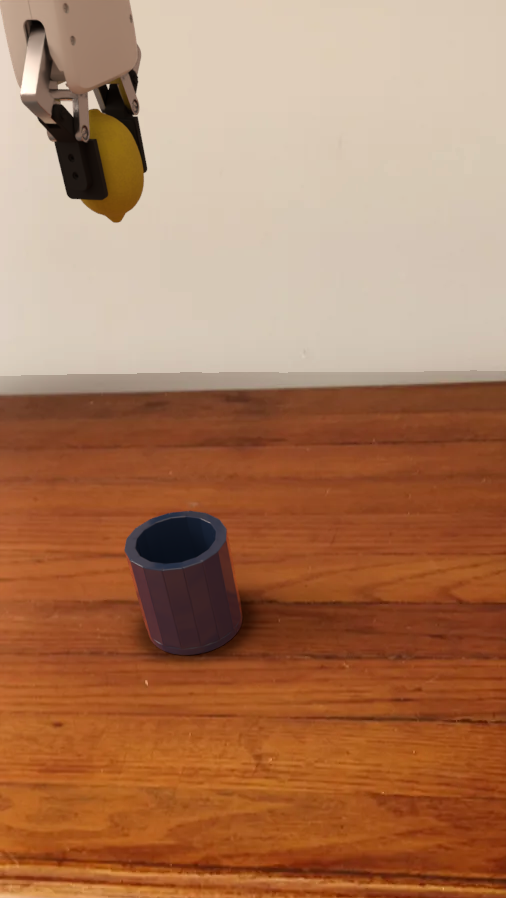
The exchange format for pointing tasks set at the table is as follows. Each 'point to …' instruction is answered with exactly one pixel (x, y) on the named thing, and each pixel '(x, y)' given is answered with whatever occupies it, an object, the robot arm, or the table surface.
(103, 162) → the lemon
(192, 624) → the cup
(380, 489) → the table surface
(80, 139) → the robot arm
